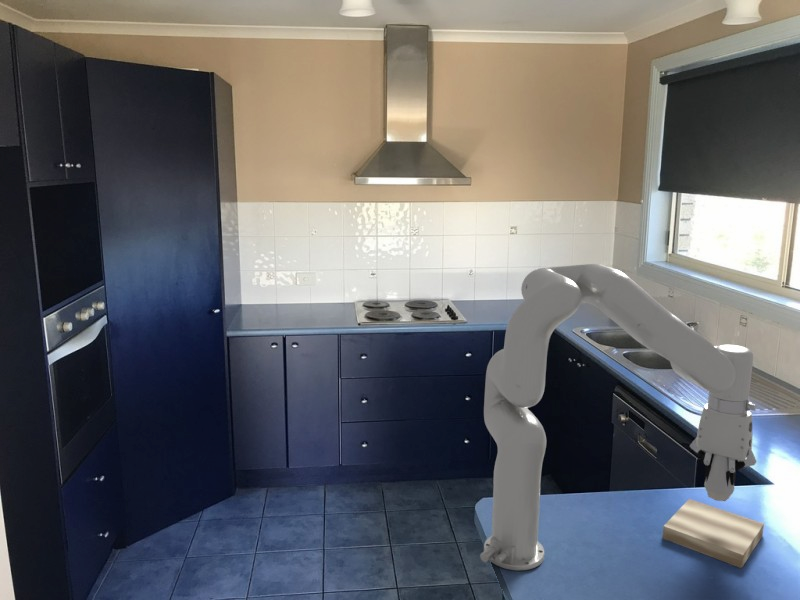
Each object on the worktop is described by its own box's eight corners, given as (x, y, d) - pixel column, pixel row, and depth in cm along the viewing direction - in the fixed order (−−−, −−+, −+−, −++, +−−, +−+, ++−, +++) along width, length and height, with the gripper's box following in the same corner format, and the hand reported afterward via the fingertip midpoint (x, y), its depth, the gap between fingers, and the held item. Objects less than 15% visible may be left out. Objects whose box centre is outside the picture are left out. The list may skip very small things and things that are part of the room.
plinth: (741, 568, 132) (743, 555, 131) (662, 538, 142) (663, 525, 142) (762, 535, 143) (764, 523, 143) (687, 510, 154) (689, 498, 153)
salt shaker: (724, 489, 144) (730, 435, 141) (738, 503, 138) (745, 446, 136) (698, 490, 144) (704, 435, 141) (711, 503, 138) (717, 446, 135)
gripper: (775, 408, 134) (765, 490, 138) (693, 390, 145) (686, 466, 148) (766, 418, 128) (755, 503, 132) (681, 399, 139) (674, 478, 143)
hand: (719, 483), depth 140 cm, fingers closed on salt shaker, 3 cm apart
